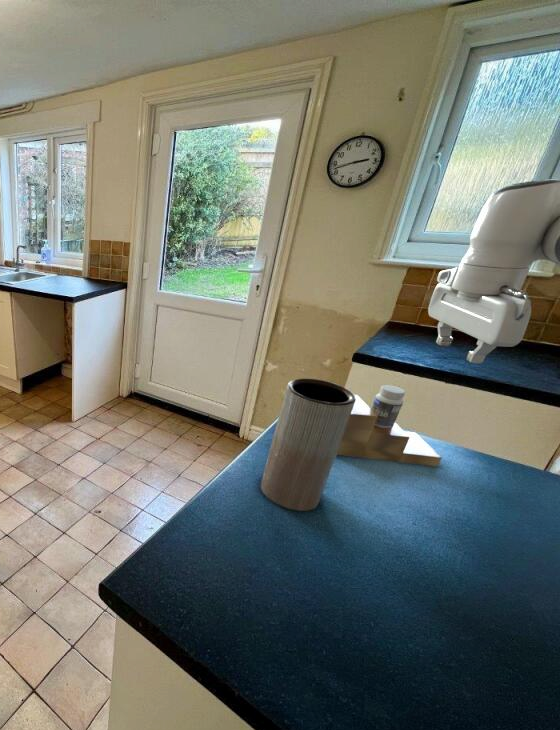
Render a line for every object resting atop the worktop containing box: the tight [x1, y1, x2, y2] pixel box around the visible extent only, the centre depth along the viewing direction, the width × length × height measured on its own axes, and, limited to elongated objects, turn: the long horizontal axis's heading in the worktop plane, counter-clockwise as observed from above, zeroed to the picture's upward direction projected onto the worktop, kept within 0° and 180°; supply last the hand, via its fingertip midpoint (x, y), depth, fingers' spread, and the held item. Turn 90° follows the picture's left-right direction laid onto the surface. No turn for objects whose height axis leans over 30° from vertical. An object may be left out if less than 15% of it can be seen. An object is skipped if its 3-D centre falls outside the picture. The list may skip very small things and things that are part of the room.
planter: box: [260, 378, 356, 512], centre depth 75 cm, size 10×10×23 cm
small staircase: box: [336, 394, 443, 467], centre depth 91 cm, size 21×10×11 cm, turn 76°
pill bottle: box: [370, 384, 406, 428], centre depth 89 cm, size 5×5×8 cm
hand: (457, 353), depth 80 cm, fingers open, 8 cm apart
